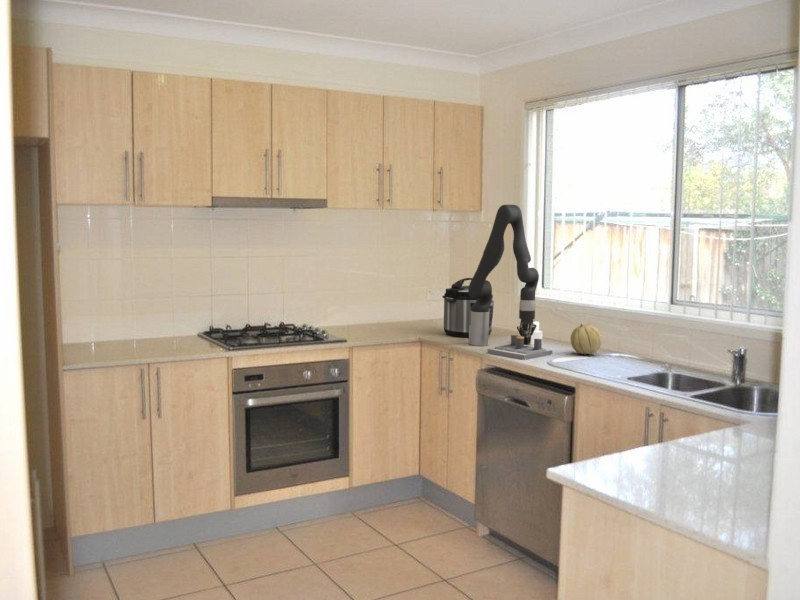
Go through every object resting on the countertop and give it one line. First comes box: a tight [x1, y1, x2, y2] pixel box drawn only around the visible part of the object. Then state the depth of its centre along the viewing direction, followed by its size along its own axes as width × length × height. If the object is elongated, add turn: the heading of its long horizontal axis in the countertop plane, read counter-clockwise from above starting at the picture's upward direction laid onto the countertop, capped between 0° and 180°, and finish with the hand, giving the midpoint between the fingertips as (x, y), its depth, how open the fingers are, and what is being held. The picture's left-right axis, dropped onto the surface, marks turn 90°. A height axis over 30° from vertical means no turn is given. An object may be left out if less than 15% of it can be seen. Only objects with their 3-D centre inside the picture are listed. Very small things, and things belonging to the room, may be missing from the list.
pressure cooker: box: [441, 277, 495, 338], centre depth 419 cm, size 30×28×32 cm
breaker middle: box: [516, 335, 525, 349], centre depth 362 cm, size 3×3×6 cm
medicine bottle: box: [528, 320, 544, 346], centre depth 392 cm, size 7×7×12 cm
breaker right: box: [533, 338, 543, 351], centre depth 360 cm, size 3×3×6 cm
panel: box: [486, 343, 553, 361], centre depth 362 cm, size 22×22×3 cm
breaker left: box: [509, 334, 519, 346], centre depth 370 cm, size 3×3×6 cm
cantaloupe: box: [570, 323, 603, 356], centre depth 363 cm, size 15×15×15 cm
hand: (526, 344), depth 365 cm, fingers closed
